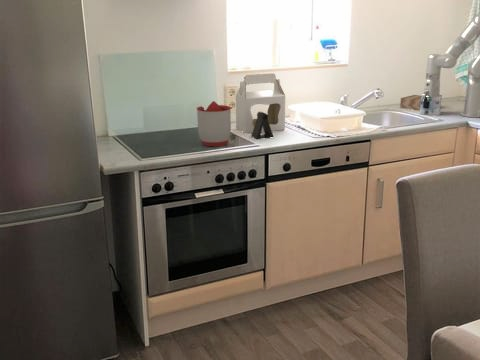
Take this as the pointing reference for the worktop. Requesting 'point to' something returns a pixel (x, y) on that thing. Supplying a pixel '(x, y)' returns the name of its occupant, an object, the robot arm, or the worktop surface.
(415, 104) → the walnut stand
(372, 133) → the worktop surface
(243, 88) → the gable box
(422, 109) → the light bulb box
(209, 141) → the citrus juicer
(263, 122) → the black a-shaped stand
